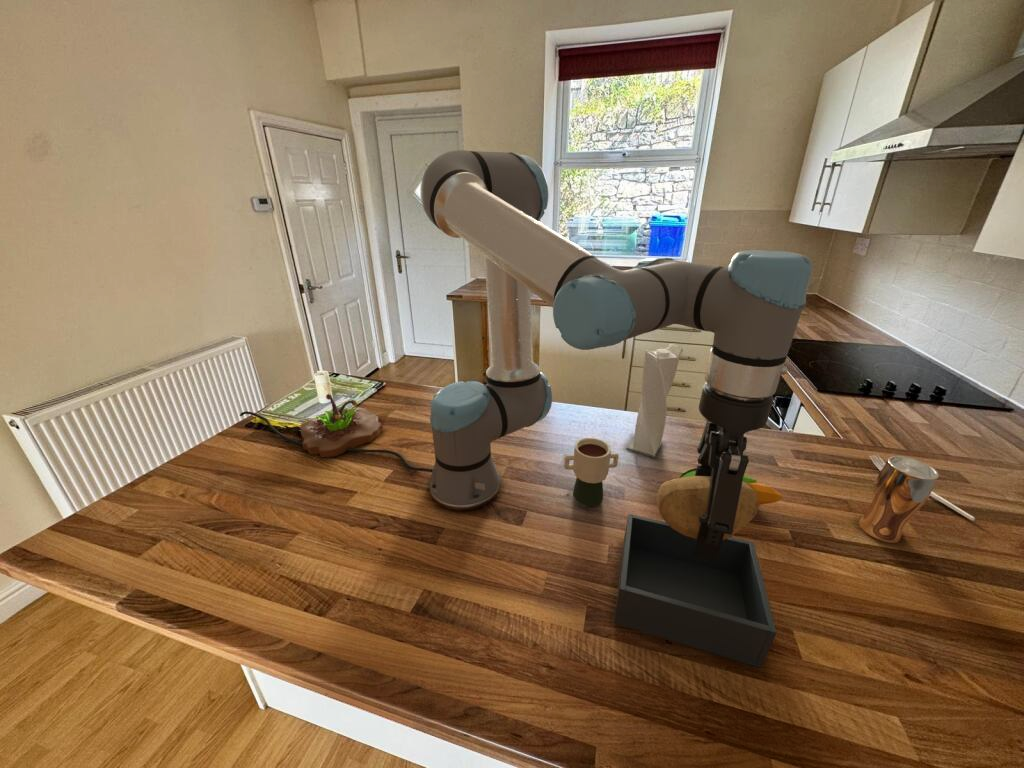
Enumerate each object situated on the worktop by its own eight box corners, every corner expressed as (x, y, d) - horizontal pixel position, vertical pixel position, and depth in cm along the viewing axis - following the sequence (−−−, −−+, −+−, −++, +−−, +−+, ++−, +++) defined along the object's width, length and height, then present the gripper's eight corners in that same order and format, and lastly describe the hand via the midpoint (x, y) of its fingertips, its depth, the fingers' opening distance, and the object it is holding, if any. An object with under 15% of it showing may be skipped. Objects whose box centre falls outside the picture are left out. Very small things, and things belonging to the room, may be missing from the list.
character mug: (608, 486, 88) (614, 436, 82) (618, 509, 82) (625, 456, 76) (559, 488, 87) (562, 438, 82) (565, 511, 81) (568, 459, 75)
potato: (769, 550, 54) (786, 504, 50) (669, 560, 52) (680, 514, 49) (727, 500, 62) (739, 458, 59) (640, 507, 61) (647, 465, 58)
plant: (361, 407, 120) (354, 373, 115) (392, 433, 107) (386, 396, 102) (289, 432, 108) (279, 395, 103) (315, 465, 95) (304, 424, 90)
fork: (966, 523, 78) (971, 516, 77) (864, 462, 95) (867, 455, 95) (979, 520, 78) (983, 513, 78) (876, 460, 96) (879, 454, 95)
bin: (613, 623, 60) (619, 588, 57) (623, 544, 73) (628, 513, 70) (761, 668, 54) (777, 633, 51) (742, 574, 68) (753, 541, 64)
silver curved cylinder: (892, 522, 78) (926, 459, 72) (911, 549, 72) (950, 483, 66) (849, 513, 80) (879, 451, 74) (864, 539, 74) (898, 474, 68)
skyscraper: (667, 445, 102) (687, 341, 90) (659, 462, 96) (679, 352, 84) (634, 435, 106) (649, 335, 94) (624, 451, 100) (639, 345, 88)
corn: (676, 457, 85) (779, 466, 81) (670, 484, 88) (768, 494, 85) (683, 481, 78) (795, 493, 75) (676, 509, 82) (782, 521, 79)
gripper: (802, 445, 37) (743, 604, 46) (755, 358, 56) (720, 483, 66) (713, 431, 39) (675, 586, 49) (697, 352, 58) (672, 474, 68)
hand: (701, 527), depth 57 cm, fingers closed on potato, 10 cm apart
